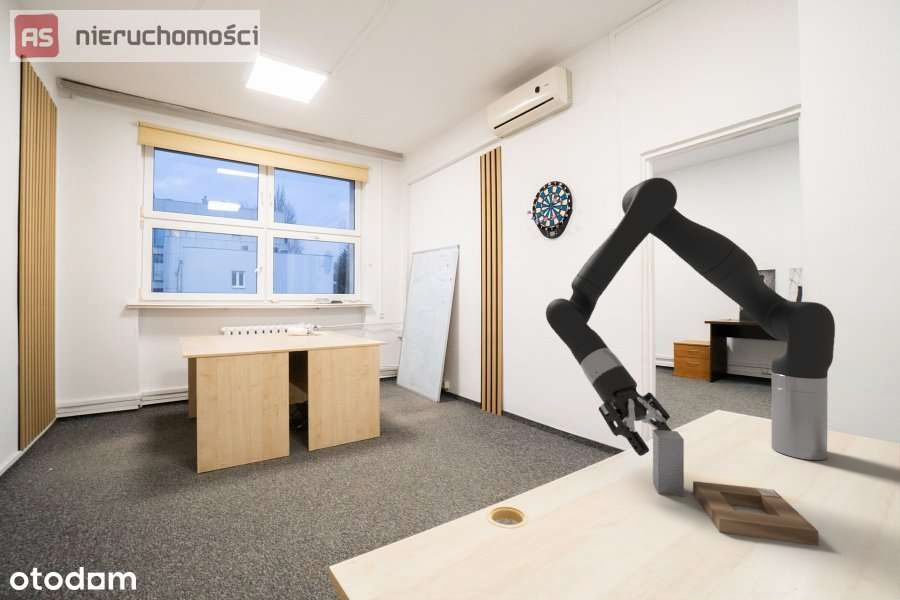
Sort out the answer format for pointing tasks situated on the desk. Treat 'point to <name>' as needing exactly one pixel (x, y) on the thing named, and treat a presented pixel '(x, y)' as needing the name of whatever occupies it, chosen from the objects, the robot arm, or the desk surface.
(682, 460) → the peg
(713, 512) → the socket board
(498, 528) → the desk surface
